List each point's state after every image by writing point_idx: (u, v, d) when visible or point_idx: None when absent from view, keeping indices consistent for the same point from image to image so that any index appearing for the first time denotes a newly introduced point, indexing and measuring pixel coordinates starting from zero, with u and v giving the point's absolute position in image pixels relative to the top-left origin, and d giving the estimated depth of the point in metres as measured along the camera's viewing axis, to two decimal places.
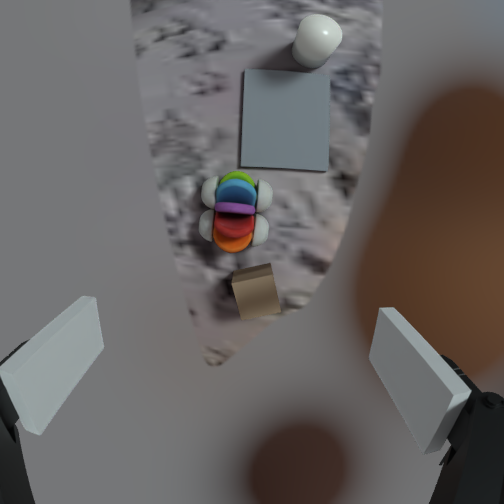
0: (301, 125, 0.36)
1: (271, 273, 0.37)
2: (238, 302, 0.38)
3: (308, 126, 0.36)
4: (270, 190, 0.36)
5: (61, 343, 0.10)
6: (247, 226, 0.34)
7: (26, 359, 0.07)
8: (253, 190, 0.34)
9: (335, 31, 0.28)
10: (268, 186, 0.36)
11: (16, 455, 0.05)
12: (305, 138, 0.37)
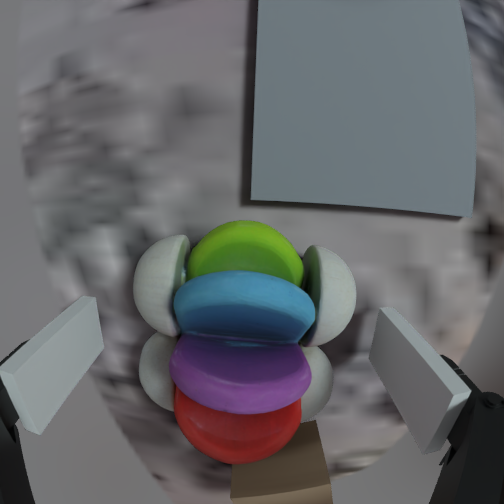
0: (418, 89, 0.11)
1: (326, 477, 0.12)
2: None
3: (434, 96, 0.11)
4: (353, 287, 0.11)
5: (62, 343, 0.10)
6: (283, 425, 0.09)
7: (26, 359, 0.07)
8: (309, 310, 0.09)
9: None
10: (347, 274, 0.11)
11: (16, 455, 0.05)
12: (429, 126, 0.11)
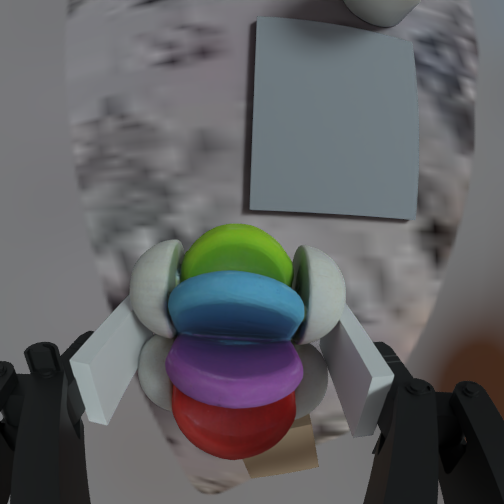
0: (370, 127, 0.17)
1: (308, 419, 0.17)
2: (246, 459, 0.18)
3: (383, 130, 0.17)
4: (342, 284, 0.11)
5: (125, 334, 0.11)
6: (278, 420, 0.09)
7: (99, 349, 0.09)
8: (298, 306, 0.09)
9: None
10: (336, 272, 0.11)
11: (79, 452, 0.06)
12: (378, 154, 0.18)
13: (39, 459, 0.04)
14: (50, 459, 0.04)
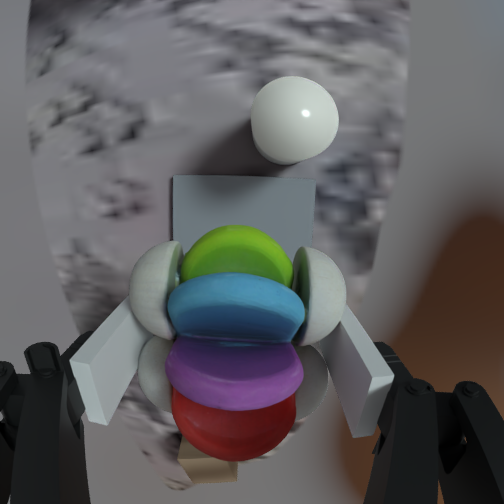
0: None
1: None
2: (187, 472, 0.26)
3: None
4: (342, 286, 0.11)
5: (125, 333, 0.11)
6: (278, 422, 0.09)
7: (99, 349, 0.09)
8: (298, 308, 0.09)
9: (324, 112, 0.16)
10: (336, 273, 0.11)
11: (79, 452, 0.06)
12: None
13: (39, 459, 0.04)
14: (50, 459, 0.04)
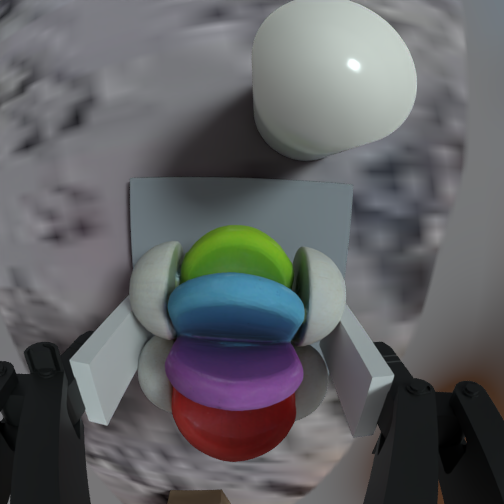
0: None
1: None
2: None
3: None
4: (342, 286, 0.11)
5: (125, 334, 0.11)
6: (278, 422, 0.09)
7: (99, 349, 0.09)
8: (298, 308, 0.09)
9: (391, 58, 0.07)
10: (336, 274, 0.11)
11: (78, 452, 0.06)
12: None
13: (39, 459, 0.04)
14: (50, 459, 0.04)
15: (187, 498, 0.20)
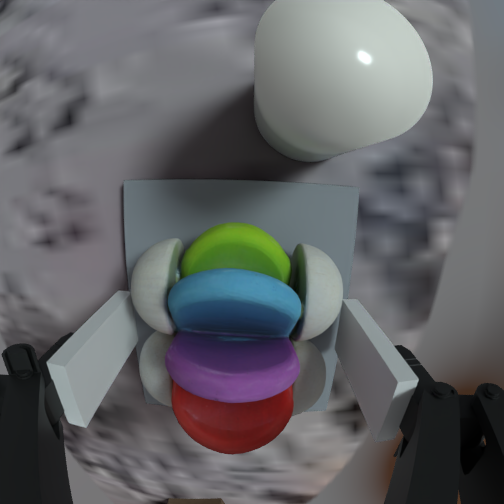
0: None
1: None
2: None
3: None
4: (339, 282, 0.12)
5: (105, 336, 0.11)
6: (275, 415, 0.10)
7: (76, 351, 0.08)
8: (294, 303, 0.10)
9: (405, 48, 0.06)
10: (333, 270, 0.12)
11: (58, 452, 0.06)
12: None
13: (20, 459, 0.04)
14: (30, 458, 0.04)
15: None
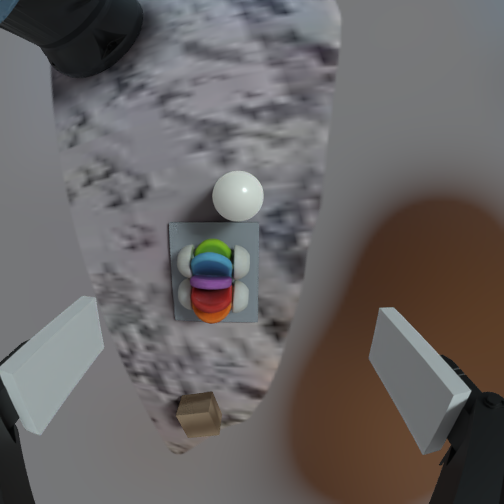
0: None
1: (207, 410, 0.39)
2: (183, 427, 0.40)
3: None
4: (247, 257, 0.35)
5: (62, 343, 0.10)
6: (224, 300, 0.33)
7: (26, 359, 0.07)
8: (228, 262, 0.33)
9: (254, 189, 0.30)
10: (244, 253, 0.35)
11: (16, 455, 0.05)
12: None
13: None
14: None
15: (192, 397, 0.43)
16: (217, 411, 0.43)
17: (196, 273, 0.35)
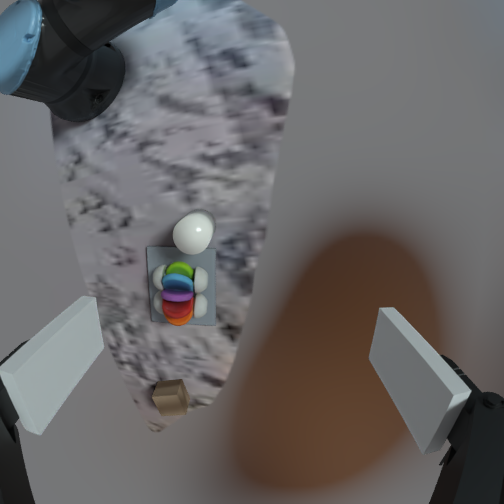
0: None
1: (176, 393, 0.50)
2: (157, 406, 0.50)
3: None
4: (205, 277, 0.45)
5: (62, 344, 0.10)
6: (186, 309, 0.43)
7: (26, 359, 0.07)
8: (189, 281, 0.43)
9: (202, 230, 0.40)
10: (203, 274, 0.45)
11: (16, 455, 0.05)
12: None
13: None
14: None
15: (165, 383, 0.53)
16: (186, 395, 0.54)
17: (166, 287, 0.45)
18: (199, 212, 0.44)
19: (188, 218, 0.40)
